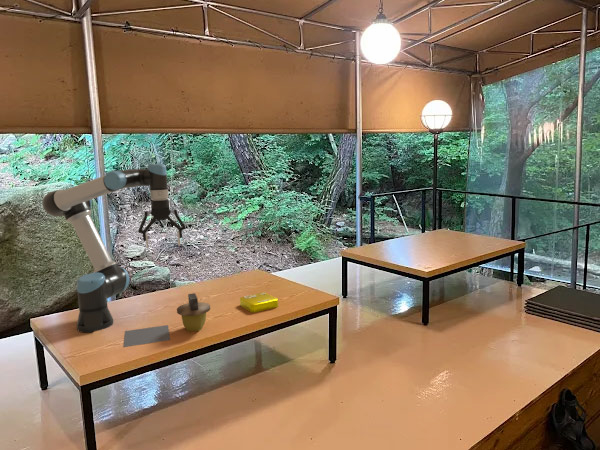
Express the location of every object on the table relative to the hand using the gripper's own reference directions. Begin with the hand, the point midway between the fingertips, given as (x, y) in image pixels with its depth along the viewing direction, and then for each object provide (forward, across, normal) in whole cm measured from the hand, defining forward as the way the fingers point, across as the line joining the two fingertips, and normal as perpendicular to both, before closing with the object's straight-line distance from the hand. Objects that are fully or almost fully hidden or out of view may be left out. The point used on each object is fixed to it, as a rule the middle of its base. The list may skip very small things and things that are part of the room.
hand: (163, 246), depth 212 cm
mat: (+35, -10, -16) cm, 39 cm away
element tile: (+35, +43, +4) cm, 56 cm away
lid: (+26, +10, -16) cm, 32 cm away
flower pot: (+35, +10, -16) cm, 40 cm away
